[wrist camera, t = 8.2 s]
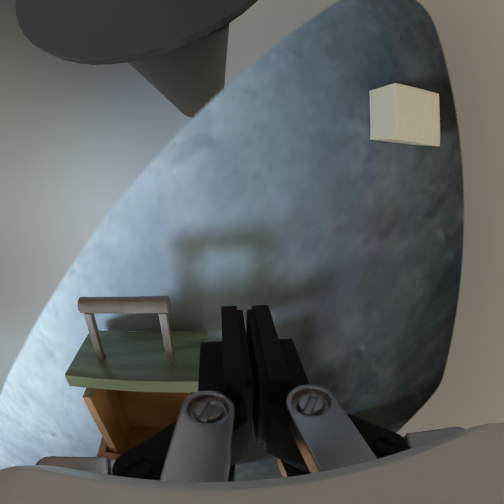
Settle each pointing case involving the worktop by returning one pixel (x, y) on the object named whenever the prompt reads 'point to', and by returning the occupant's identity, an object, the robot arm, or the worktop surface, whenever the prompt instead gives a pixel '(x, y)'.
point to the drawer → (134, 371)
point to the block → (404, 115)
